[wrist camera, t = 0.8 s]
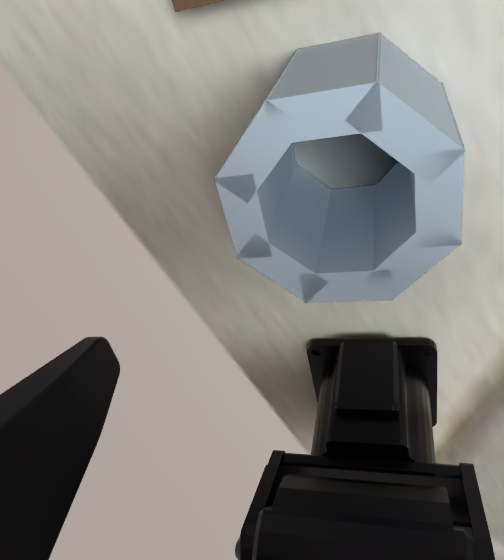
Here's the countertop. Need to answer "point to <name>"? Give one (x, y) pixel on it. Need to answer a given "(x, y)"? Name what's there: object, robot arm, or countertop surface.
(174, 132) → the countertop surface
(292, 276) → the blue roll
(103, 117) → the countertop surface
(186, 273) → the countertop surface
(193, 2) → the roll holder
